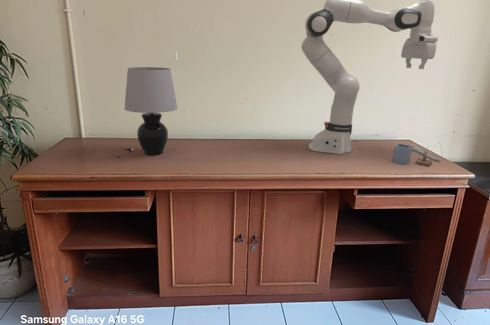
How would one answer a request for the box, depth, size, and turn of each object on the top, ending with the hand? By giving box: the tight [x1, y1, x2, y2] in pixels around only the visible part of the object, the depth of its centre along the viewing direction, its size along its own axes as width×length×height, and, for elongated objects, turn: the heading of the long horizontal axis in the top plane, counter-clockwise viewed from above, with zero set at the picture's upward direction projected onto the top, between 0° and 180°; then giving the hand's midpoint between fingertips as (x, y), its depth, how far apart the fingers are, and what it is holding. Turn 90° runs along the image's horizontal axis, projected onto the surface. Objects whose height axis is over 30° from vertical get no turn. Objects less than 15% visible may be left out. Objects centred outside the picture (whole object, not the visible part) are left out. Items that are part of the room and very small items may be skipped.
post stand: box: [414, 151, 433, 168], centre depth 168 cm, size 6×6×6 cm
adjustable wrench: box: [411, 145, 441, 163], centre depth 184 cm, size 25×6×2 cm, turn 3°
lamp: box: [124, 66, 178, 157], centre depth 167 cm, size 24×24×40 cm
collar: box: [391, 143, 413, 165], centre depth 170 cm, size 6×6×8 cm
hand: (414, 68), depth 172 cm, fingers open, 8 cm apart
